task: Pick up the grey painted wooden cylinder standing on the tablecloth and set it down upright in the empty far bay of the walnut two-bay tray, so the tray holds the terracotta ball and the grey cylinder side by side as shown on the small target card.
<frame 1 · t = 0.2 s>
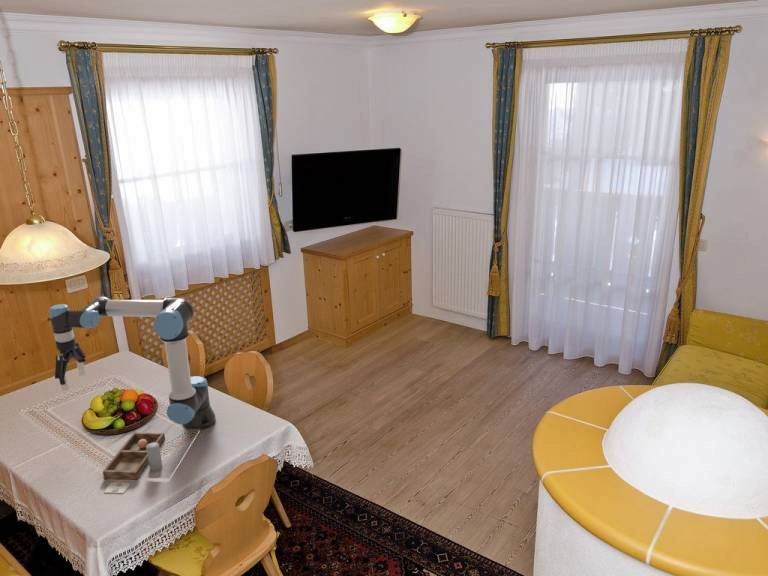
hand: (74, 382, 260), 28 cm above the table, fingers open, 13 cm apart
target card: (117, 488, 234), on the table
ball: (143, 447, 259), point 1 cm above the table, touching tray
tray: (136, 459, 252), on the table
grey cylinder: (156, 470, 245), on the table
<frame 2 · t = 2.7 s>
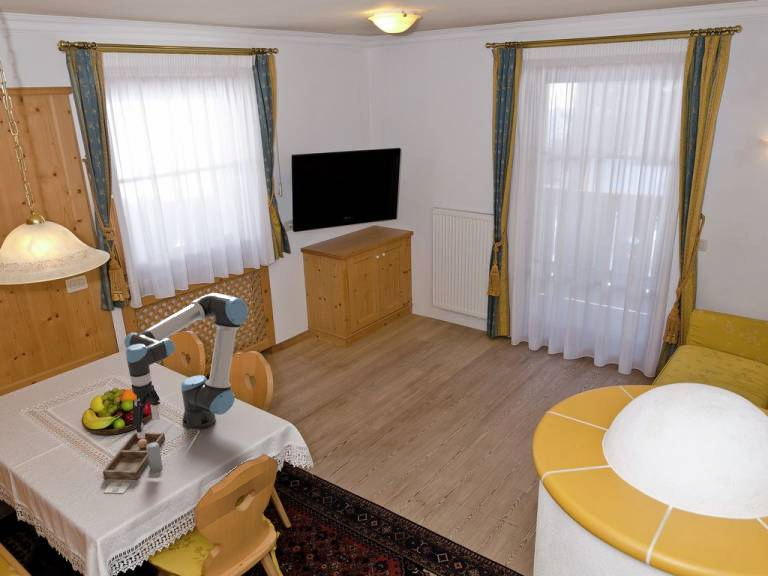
hand: (149, 428, 238), 21 cm above the table, fingers open, 13 cm apart
nothing on the table moved.
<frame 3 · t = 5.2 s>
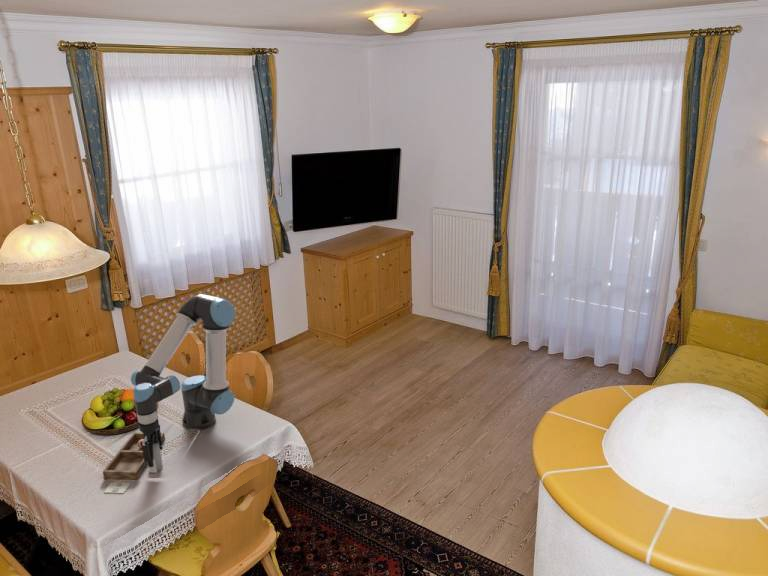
hand: (156, 467, 245), 1 cm above the table, fingers closed on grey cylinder, 5 cm apart
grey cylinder: (156, 470, 245), on the table, touching gripper
everything else where it was.
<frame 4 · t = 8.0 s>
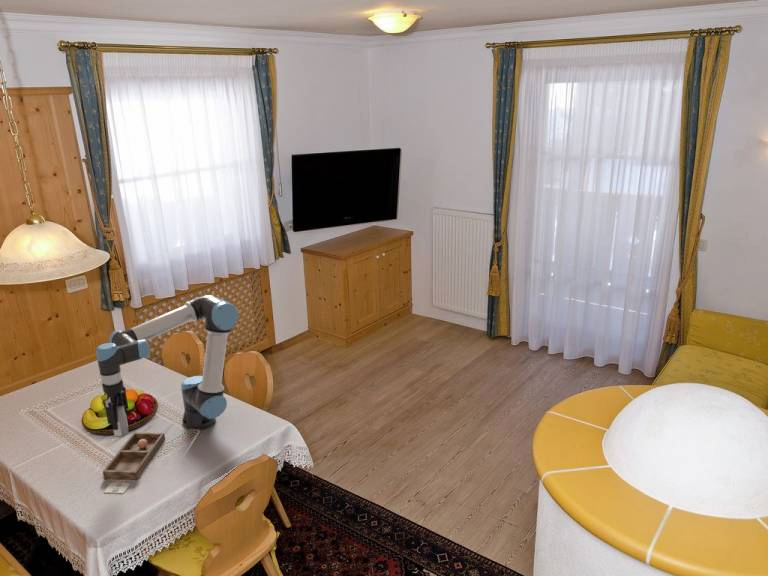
hand: (121, 431, 239), 19 cm above the table, fingers closed on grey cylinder, 5 cm apart
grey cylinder: (121, 433, 240), point 18 cm above the table, touching gripper
everything else where it was.
when the fingers open (4 cm above the table, at t = 11.2 s): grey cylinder drops 2 cm, resting on tray.
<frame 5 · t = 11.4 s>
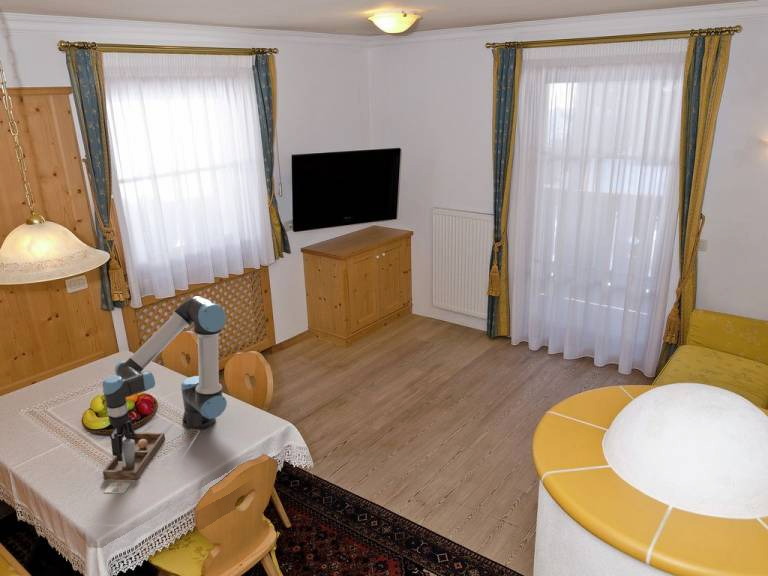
hand: (127, 460, 244), 5 cm above the table, fingers open, 7 cm apart
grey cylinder: (128, 466, 245), point 1 cm above the table, tilted 8°, touching tray
everything else where it was.
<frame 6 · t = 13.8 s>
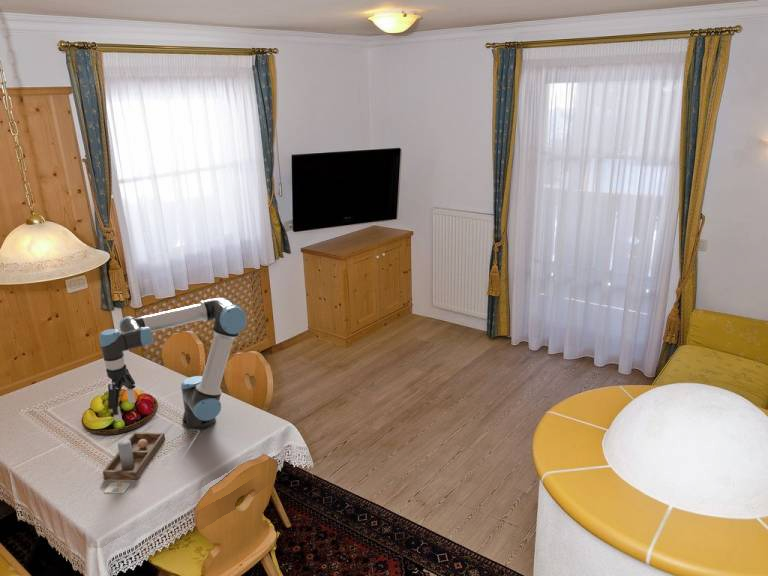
hand: (125, 411, 244), 24 cm above the table, fingers open, 13 cm apart
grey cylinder: (128, 467, 245), point 1 cm above the table, touching tray
everything else where it was.
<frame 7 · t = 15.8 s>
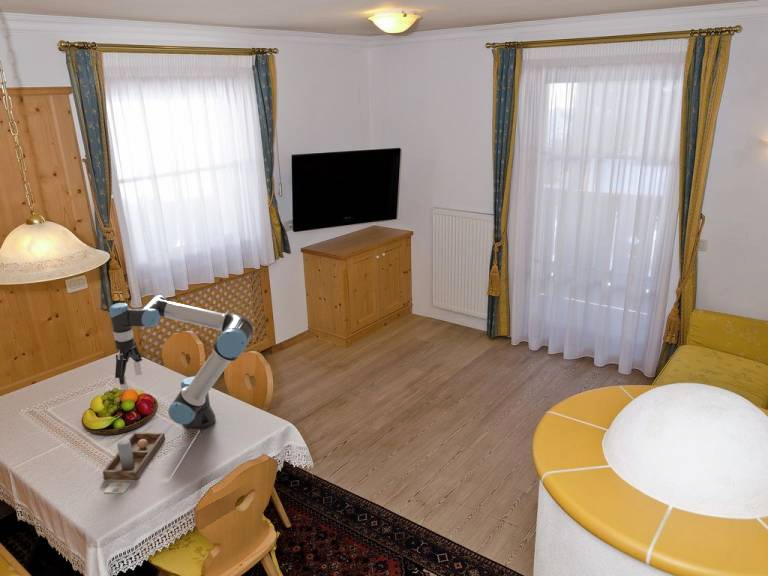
hand: (131, 382, 258), 29 cm above the table, fingers open, 13 cm apart
nothing on the table moved.
at the end: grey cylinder inside the target area on the tray (0.2 cm from its centre), point 1.0 cm above the tray's base; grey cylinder tilted 0°; the gripper is holding nothing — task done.
